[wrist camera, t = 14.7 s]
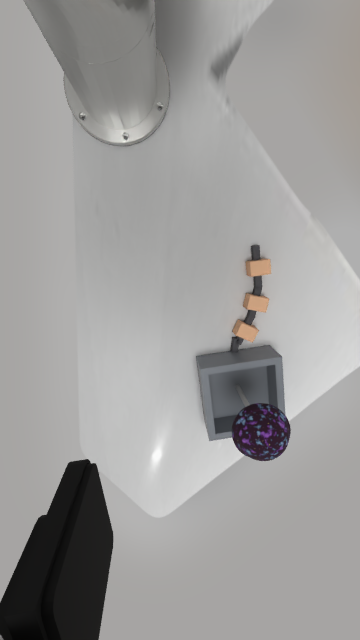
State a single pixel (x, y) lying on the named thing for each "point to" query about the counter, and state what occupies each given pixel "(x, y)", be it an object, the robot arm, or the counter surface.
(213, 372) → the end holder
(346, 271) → the counter surface
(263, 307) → the cable run
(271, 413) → the lollipop
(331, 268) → the counter surface
